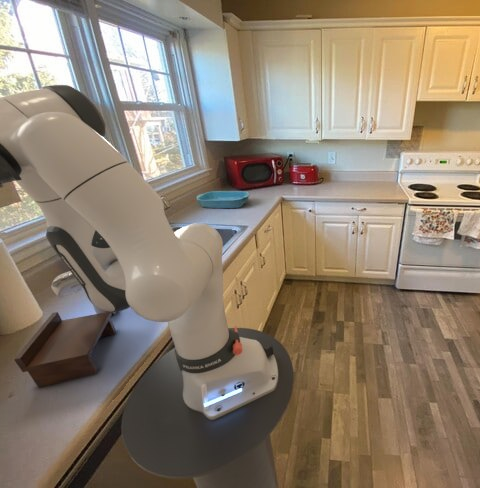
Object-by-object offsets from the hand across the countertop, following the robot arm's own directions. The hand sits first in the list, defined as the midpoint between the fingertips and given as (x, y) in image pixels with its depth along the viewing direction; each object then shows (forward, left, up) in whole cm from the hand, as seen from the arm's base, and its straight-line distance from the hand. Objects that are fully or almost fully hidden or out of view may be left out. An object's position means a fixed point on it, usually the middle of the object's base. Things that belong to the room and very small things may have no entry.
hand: (94, 282), depth 88 cm
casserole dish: (-39, -110, -12) cm, 117 cm away
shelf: (0, +19, -12) cm, 23 cm away
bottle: (-1, 0, -12) cm, 12 cm away
